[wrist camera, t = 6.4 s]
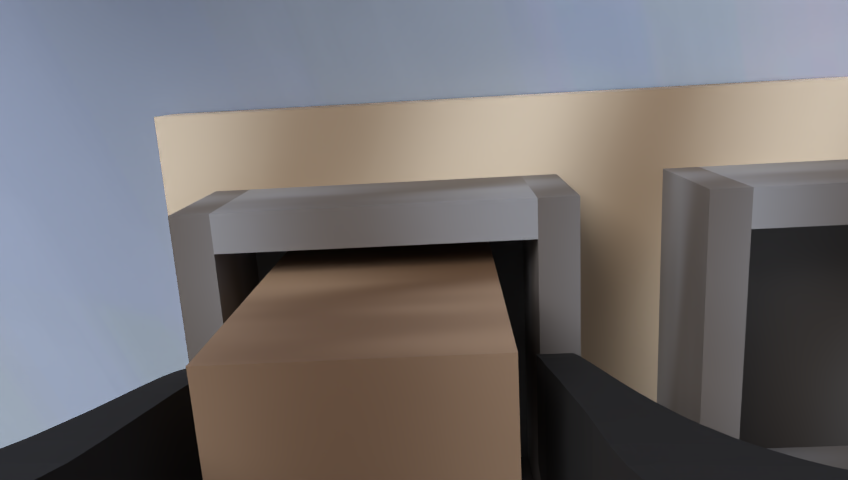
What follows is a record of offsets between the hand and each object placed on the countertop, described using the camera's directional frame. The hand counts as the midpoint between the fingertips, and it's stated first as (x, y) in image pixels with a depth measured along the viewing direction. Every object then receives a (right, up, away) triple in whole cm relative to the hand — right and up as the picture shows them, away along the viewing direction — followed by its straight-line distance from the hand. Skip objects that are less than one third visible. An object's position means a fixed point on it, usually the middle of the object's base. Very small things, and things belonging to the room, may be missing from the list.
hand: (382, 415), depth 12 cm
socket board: (+5, 0, +4) cm, 6 cm away
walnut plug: (0, +1, +3) cm, 3 cm away
